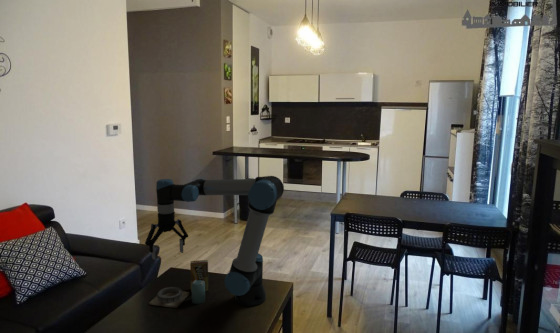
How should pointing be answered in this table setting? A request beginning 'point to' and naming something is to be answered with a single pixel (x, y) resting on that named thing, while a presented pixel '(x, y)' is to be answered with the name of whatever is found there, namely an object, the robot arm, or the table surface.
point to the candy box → (199, 272)
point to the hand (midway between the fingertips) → (167, 255)
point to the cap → (198, 292)
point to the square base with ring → (169, 297)
